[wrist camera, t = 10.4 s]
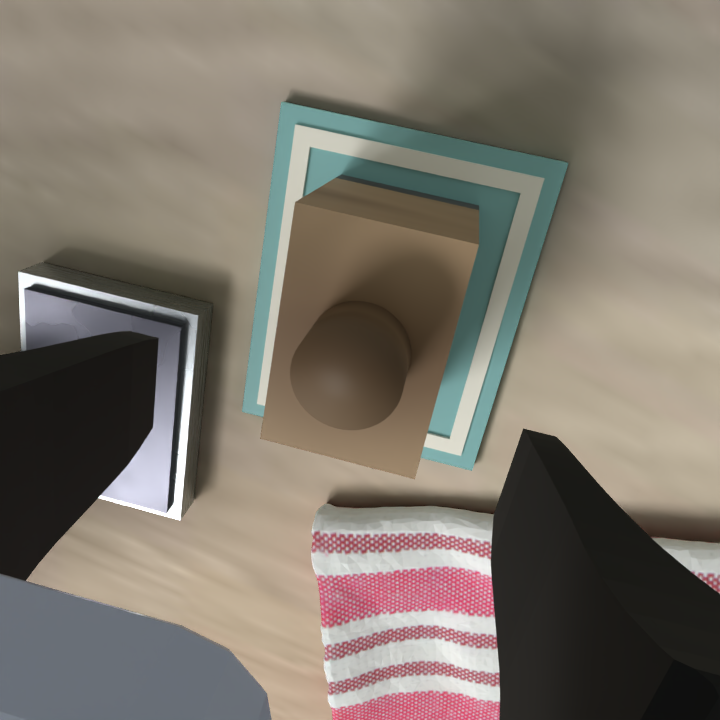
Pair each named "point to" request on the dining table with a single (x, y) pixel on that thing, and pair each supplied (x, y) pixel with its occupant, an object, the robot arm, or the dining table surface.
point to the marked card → (436, 177)
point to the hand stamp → (367, 320)
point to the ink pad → (173, 379)
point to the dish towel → (421, 610)
